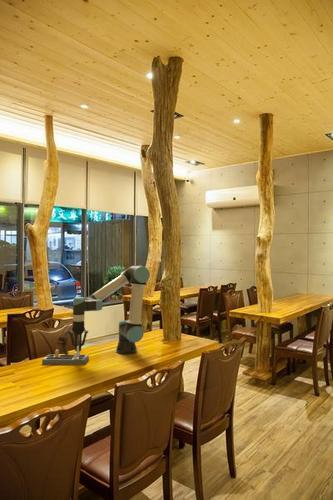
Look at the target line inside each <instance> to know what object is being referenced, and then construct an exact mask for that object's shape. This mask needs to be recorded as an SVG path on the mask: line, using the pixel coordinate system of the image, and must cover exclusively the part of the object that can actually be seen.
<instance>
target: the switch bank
mask: <svg viewBox="0 0 333 500" xmlns="http://www.w3.org/2000/svg"><path fill="white" fill-rule="evenodd" d="M54 356H55V354H47V355H46V356H45V357H43V358H42V360H41V362H42V363H41V364H42V365H85V364H86V363H88V360H89V358H90V354H80V356H79V357H77V358H79V359H72V358H74V354H65V355H61V357H54Z"/></svg>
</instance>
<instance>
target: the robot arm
mask: <svg viewBox="0 0 333 500" xmlns="http://www.w3.org/2000/svg"><path fill="white" fill-rule="evenodd" d="M150 275H151V274H150V270H149V269H148V268H147V267H145V266H143V265H137V264H135V265H131V266H130V267H128V268H126V269H125V270H123V272H121V273H120V275H118V277H116V278H114V279H113V280H112V281H110V282H108V283H107V284H106V285H104V286H102V287H101V288H100V289H98V290H97V291H95V292H94V293H92V294H91V295H89V296H86V297H83V296H77V297H74V298H73V301H72V327H71V328H72V329H71V330H68V331H69V334H70V336H69V337H70V341H71V345H72V346H73V347H74V352H77V357H79V356H80V355H81V354H80V353H81V351H82V346H84V345H85V343H86V338H87V336H88V334H89V330H86V328H85V312H99V311H102V310H103V307H104V305H103V300H105V299H106V298H108V297H109V296H110V295H112V294H113V293H115V292H117V291H118V290H119V289H121V288H122V287H124V286H125V285H128V284H130V285H131V293H130V304H129V312H128V319H127V320H120V321H119V322H118V342H117V346H116V347H115V348H116V353H118V354H121V355H129V354H130V355H132V354H134V353H135V354H136V352H137V349H138V348H137V346H136V343H138V342H140V341H141V340H142V339H143V337H144V335H145V334H144V329H143V322H142V321H141V318H142V311H143V310H142V309H143V308H142V307H143V300H144V299H143V298H144V292H145V291H144V289H145V287H146V286H147V283H148V280H149V279H150ZM82 336H83V338H82Z"/></svg>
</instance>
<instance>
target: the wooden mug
mask: <svg viewBox="0 0 333 500" xmlns="http://www.w3.org/2000/svg"><path fill="white" fill-rule="evenodd" d="M69 331H70V330H67V331H65V332H64V333H63V335H62V337H57V340H56V345H55V346H56V347H55V350H59V354H65V355H68V354H69V349H68V343H69V342H68V341H69V340H68V338H69V337H70V334H69ZM67 353H68V354H67Z"/></svg>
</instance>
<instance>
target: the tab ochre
mask: <svg viewBox="0 0 333 500" xmlns="http://www.w3.org/2000/svg"><path fill="white" fill-rule="evenodd" d="M54 355H55V356H54V357H61V355H59V350H56V349H55V351H54Z"/></svg>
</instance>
